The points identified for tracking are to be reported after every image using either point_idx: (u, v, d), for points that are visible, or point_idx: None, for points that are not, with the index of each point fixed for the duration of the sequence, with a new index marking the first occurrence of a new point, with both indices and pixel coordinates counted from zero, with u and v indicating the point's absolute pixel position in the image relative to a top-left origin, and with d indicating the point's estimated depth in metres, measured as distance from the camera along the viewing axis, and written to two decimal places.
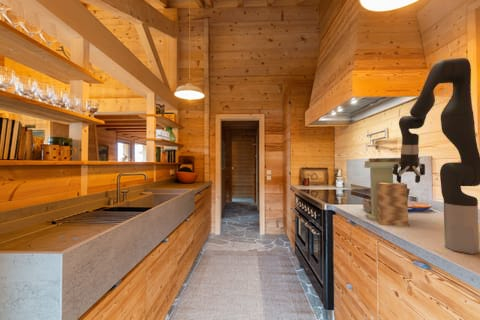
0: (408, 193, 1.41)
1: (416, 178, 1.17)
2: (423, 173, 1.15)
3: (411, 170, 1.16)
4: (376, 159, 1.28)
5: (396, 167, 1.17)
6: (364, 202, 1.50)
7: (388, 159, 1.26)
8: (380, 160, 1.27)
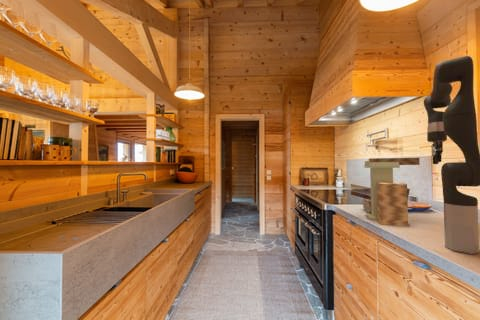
0: (408, 193, 1.41)
1: None
2: None
3: None
4: (376, 159, 1.28)
5: None
6: (364, 202, 1.50)
7: (388, 159, 1.26)
8: (380, 160, 1.27)
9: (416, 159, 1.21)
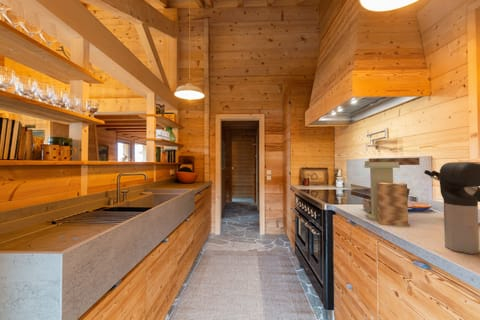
0: (408, 193, 1.41)
1: (429, 173, 1.23)
2: (432, 177, 1.25)
3: None
4: (376, 159, 1.28)
5: None
6: (364, 202, 1.50)
7: (388, 159, 1.26)
8: (380, 160, 1.27)
9: (416, 159, 1.21)
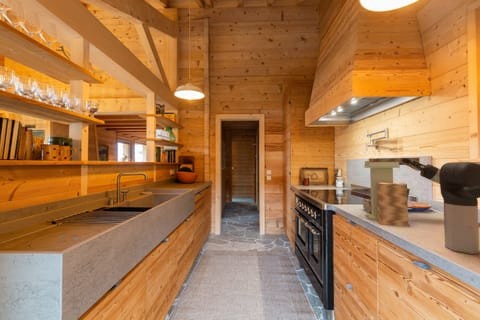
0: (408, 193, 1.41)
1: None
2: None
3: (415, 167, 1.23)
4: (376, 159, 1.28)
5: (419, 168, 1.17)
6: (364, 202, 1.50)
7: (388, 159, 1.26)
8: (380, 160, 1.27)
9: (416, 159, 1.21)
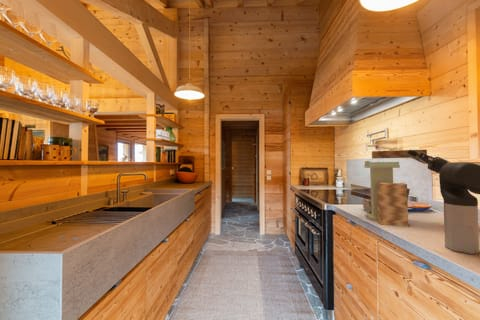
0: (408, 193, 1.41)
1: None
2: None
3: None
4: (380, 152, 1.19)
5: (427, 160, 1.08)
6: (364, 202, 1.50)
7: (393, 152, 1.17)
8: (384, 153, 1.18)
9: (423, 151, 1.12)
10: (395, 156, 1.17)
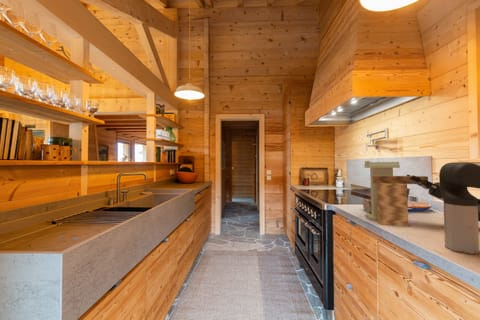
0: (408, 193, 1.41)
1: None
2: None
3: None
4: (381, 177, 1.19)
5: (430, 187, 1.07)
6: (364, 202, 1.50)
7: (394, 177, 1.16)
8: (385, 178, 1.18)
9: (424, 178, 1.12)
10: (396, 182, 1.16)
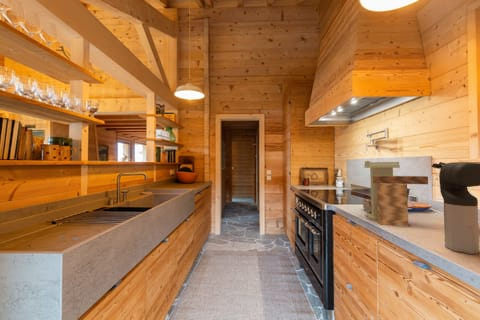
0: (408, 193, 1.41)
1: (437, 166, 1.09)
2: None
3: None
4: (381, 177, 1.19)
5: None
6: (364, 202, 1.50)
7: (394, 177, 1.16)
8: (385, 178, 1.18)
9: (424, 178, 1.12)
10: (396, 182, 1.16)
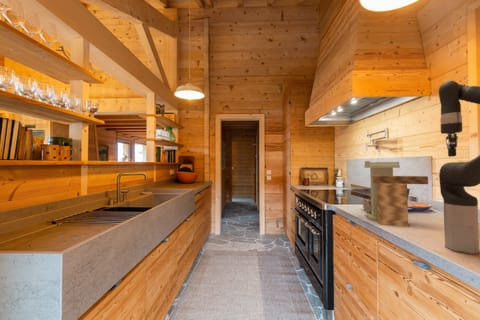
0: (408, 193, 1.41)
1: None
2: (449, 144, 1.00)
3: (448, 142, 1.05)
4: (381, 177, 1.19)
5: None
6: (364, 202, 1.50)
7: (394, 177, 1.16)
8: (385, 178, 1.18)
9: (424, 178, 1.12)
10: (396, 182, 1.16)
